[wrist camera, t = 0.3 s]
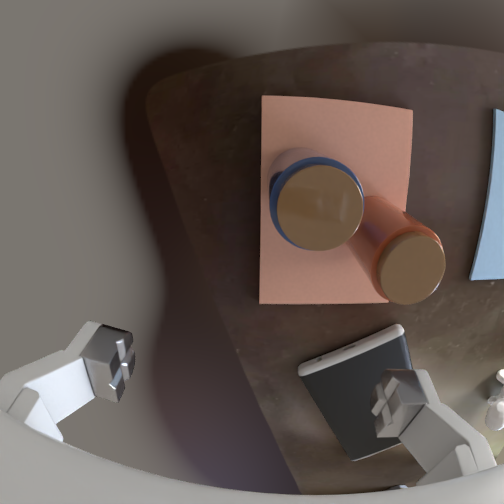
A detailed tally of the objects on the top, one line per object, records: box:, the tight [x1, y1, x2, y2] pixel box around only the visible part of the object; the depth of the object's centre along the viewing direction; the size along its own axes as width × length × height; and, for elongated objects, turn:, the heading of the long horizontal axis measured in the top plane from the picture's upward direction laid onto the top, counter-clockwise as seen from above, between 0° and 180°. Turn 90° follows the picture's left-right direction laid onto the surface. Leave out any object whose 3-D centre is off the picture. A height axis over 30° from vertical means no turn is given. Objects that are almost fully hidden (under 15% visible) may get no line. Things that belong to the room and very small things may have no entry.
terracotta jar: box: [345, 196, 445, 305], centre depth 24 cm, size 6×6×10 cm
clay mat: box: [259, 96, 413, 304], centre depth 28 cm, size 20×14×1 cm
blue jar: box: [267, 147, 364, 251], centre depth 23 cm, size 6×6×10 cm
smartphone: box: [298, 324, 413, 461], centre depth 38 cm, size 13×27×2 cm, turn 27°
